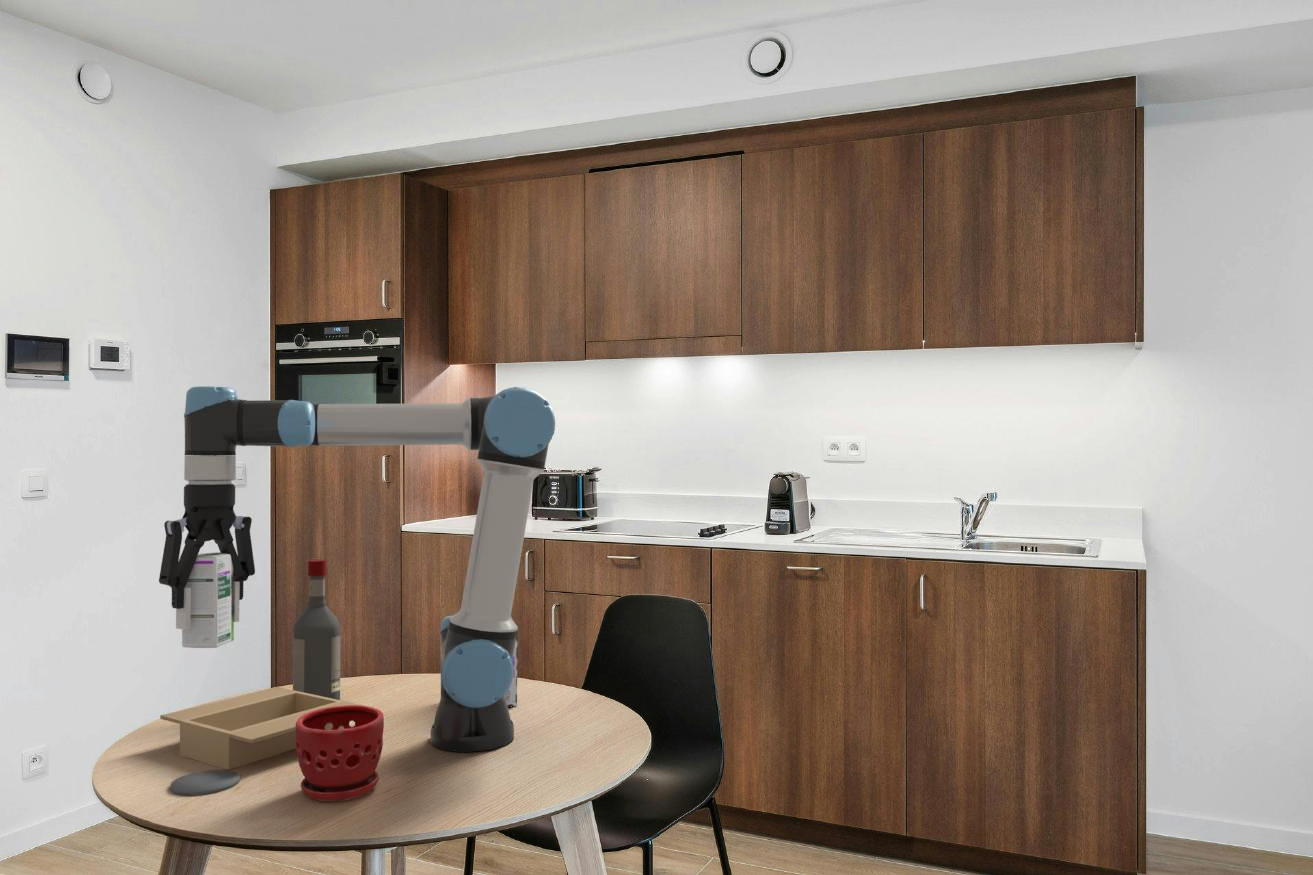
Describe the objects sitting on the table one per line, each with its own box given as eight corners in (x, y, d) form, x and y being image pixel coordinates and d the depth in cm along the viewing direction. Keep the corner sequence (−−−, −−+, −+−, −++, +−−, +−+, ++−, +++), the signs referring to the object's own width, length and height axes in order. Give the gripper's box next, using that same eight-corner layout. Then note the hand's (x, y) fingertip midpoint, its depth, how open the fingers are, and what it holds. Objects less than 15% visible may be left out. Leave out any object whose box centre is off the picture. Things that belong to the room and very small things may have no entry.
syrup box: (216, 648, 149) (218, 556, 149) (180, 648, 149) (181, 555, 150) (234, 641, 155) (235, 552, 155) (198, 640, 155) (199, 552, 155)
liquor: (293, 711, 193) (295, 563, 194) (292, 700, 202) (293, 559, 202) (340, 706, 197) (341, 562, 197) (337, 695, 205) (338, 557, 206)
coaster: (253, 780, 153) (253, 776, 153) (194, 800, 144) (194, 796, 144) (215, 769, 158) (215, 765, 158) (157, 787, 150) (157, 783, 150)
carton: (366, 738, 175) (366, 706, 175) (250, 776, 155) (251, 739, 155) (276, 717, 189) (277, 686, 189) (159, 749, 168) (160, 715, 169)
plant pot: (283, 789, 149) (284, 713, 149) (365, 772, 157) (366, 700, 157) (310, 815, 139) (311, 733, 139) (396, 795, 147) (397, 717, 147)
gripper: (252, 480, 163) (251, 613, 163) (133, 483, 146) (131, 632, 145) (280, 481, 159) (278, 617, 159) (160, 485, 142) (158, 637, 141)
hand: (208, 624), depth 152 cm, fingers closed on syrup box, 8 cm apart
